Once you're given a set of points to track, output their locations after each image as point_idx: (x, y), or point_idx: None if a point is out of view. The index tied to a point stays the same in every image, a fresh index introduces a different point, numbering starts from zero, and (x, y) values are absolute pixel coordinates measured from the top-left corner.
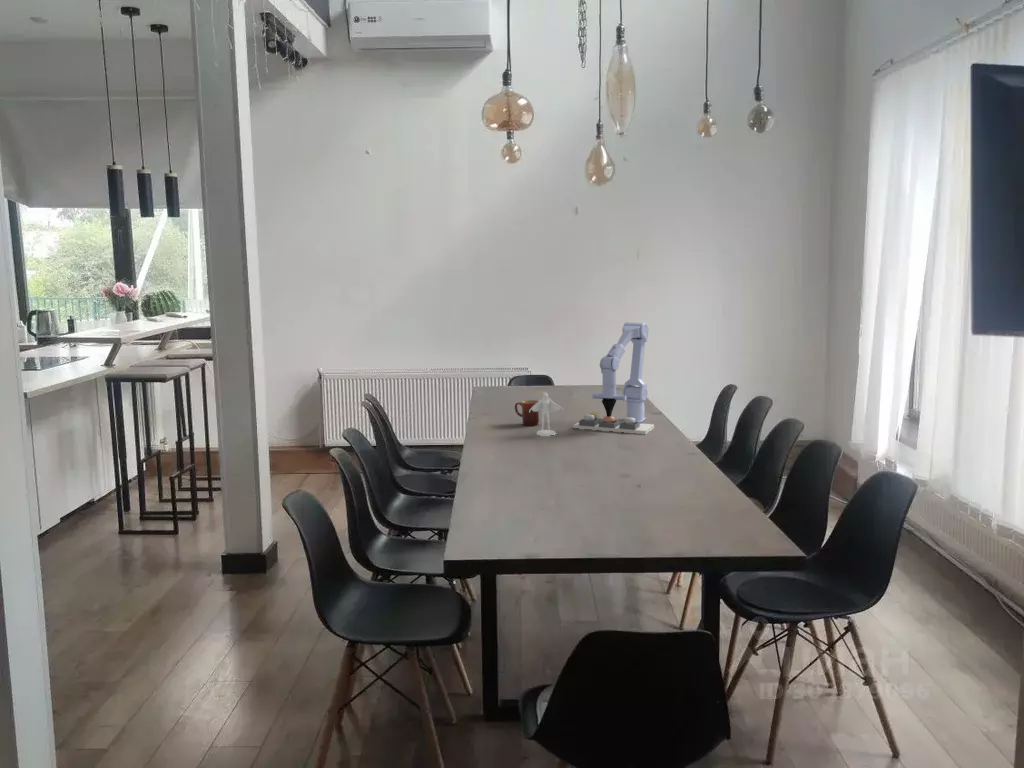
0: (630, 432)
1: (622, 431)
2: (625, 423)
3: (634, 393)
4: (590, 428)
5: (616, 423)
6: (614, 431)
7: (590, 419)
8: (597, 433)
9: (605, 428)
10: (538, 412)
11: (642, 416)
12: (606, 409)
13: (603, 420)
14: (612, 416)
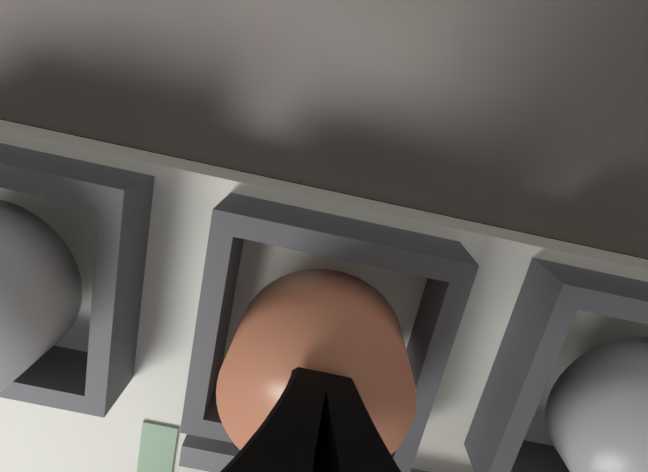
0: (10, 125)
1: (121, 149)
2: (31, 228)
3: None
4: (572, 247)
5: (202, 304)
6: (236, 172)
7: (636, 366)
8: (462, 42)
9: (361, 207)
10: None
11: None
12: (371, 468)
13: None
14: None
